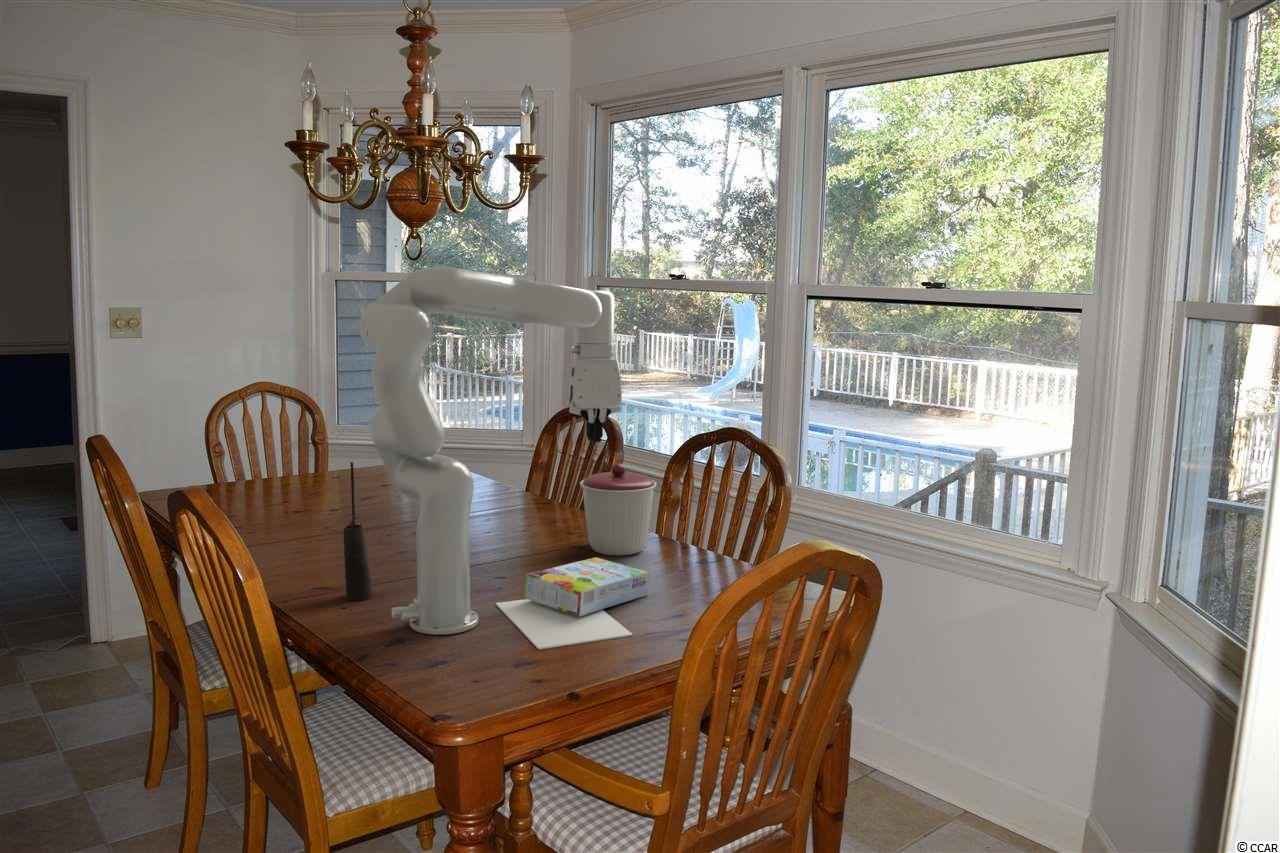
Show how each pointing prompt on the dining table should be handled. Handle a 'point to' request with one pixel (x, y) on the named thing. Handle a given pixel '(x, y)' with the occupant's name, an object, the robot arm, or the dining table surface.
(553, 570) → the snack box
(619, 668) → the dining table surface
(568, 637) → the mat
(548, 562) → the dining table surface
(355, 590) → the butter churn
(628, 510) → the canister
